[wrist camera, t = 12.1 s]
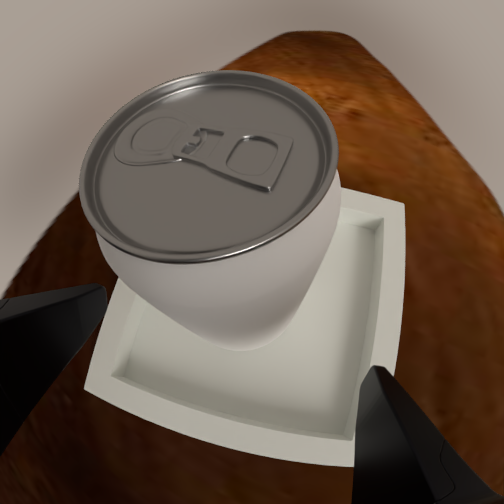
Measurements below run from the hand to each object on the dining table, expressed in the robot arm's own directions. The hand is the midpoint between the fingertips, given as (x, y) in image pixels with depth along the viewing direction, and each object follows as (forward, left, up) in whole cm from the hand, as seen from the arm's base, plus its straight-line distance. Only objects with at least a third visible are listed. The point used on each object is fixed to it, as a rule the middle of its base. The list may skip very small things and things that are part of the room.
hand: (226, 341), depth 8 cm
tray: (+3, 0, -8) cm, 9 cm away
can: (+3, +1, -8) cm, 8 cm away
